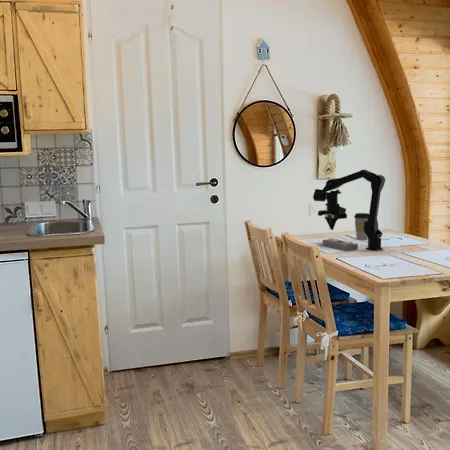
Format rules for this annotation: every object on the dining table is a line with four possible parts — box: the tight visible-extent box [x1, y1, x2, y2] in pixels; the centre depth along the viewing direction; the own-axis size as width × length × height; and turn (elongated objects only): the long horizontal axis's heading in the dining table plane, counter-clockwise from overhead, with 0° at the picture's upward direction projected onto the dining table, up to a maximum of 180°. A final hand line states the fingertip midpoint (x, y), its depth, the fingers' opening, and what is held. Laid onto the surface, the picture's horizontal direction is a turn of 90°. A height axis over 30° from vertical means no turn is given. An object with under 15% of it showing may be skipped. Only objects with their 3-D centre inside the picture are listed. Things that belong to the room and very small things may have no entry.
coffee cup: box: [353, 212, 369, 241], centre depth 310 cm, size 9×9×15 cm
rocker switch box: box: [322, 239, 359, 252], centre depth 286 cm, size 20×8×3 cm, turn 27°
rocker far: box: [327, 238, 341, 242], centre depth 290 cm, size 6×4×1 cm, turn 27°
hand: (331, 229), depth 291 cm, fingers closed
